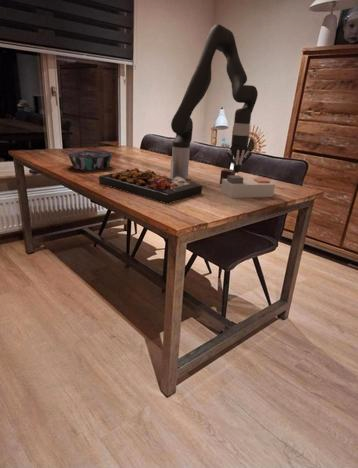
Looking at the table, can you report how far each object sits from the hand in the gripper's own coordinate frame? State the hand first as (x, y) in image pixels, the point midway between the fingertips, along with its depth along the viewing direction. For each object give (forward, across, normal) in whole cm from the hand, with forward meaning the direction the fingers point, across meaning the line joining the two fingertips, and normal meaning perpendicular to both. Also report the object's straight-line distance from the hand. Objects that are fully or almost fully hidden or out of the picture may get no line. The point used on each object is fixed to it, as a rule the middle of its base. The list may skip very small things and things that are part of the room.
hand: (236, 172), depth 152 cm
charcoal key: (+6, 0, 0) cm, 6 cm away
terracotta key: (+8, +14, 0) cm, 16 cm away
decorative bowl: (+10, -65, +65) cm, 92 cm away
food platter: (+11, -39, +14) cm, 43 cm away
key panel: (+10, +7, 0) cm, 12 cm away
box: (+11, +5, +20) cm, 23 cm away
